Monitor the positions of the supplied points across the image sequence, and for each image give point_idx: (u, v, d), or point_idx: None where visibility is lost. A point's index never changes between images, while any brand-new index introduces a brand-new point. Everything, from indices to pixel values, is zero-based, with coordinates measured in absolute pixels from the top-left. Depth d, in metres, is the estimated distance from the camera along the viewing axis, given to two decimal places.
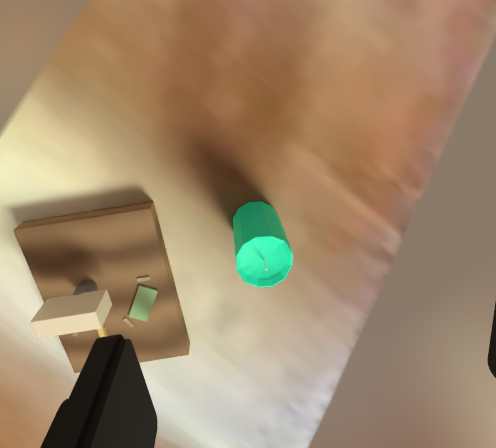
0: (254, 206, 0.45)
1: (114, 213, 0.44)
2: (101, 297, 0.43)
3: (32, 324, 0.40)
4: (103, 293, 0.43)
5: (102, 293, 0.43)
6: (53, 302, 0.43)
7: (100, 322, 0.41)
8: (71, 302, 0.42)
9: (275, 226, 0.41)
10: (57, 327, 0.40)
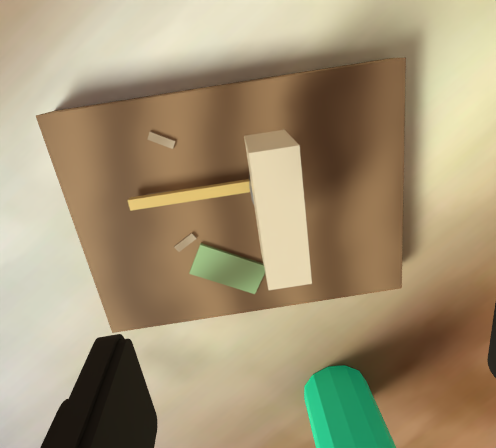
0: None
1: (400, 236, 0.27)
2: None
3: (292, 150, 0.16)
4: None
5: None
6: None
7: (280, 285, 0.19)
8: None
9: None
10: (278, 204, 0.17)
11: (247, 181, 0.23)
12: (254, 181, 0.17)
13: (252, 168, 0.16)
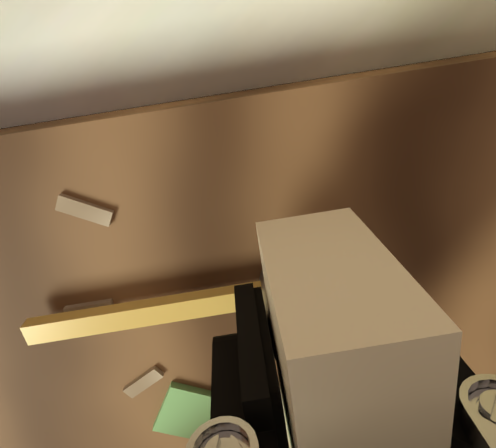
0: None
1: None
2: None
3: (437, 345, 0.05)
4: None
5: None
6: None
7: None
8: None
9: None
10: None
11: None
12: (301, 431, 0.05)
13: (296, 399, 0.05)
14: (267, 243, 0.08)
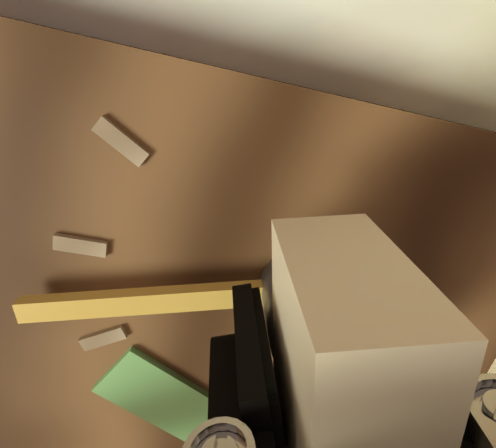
0: None
1: None
2: None
3: (463, 352, 0.05)
4: None
5: None
6: None
7: None
8: None
9: None
10: None
11: (259, 286, 0.12)
12: (317, 427, 0.05)
13: (319, 394, 0.05)
14: (285, 240, 0.08)
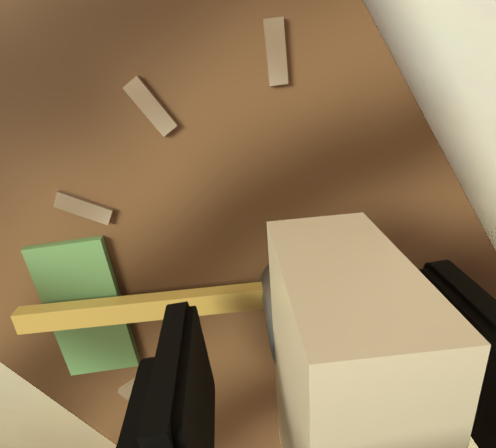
0: None
1: None
2: None
3: (464, 357, 0.05)
4: None
5: None
6: None
7: None
8: None
9: None
10: None
11: (259, 289, 0.12)
12: (315, 439, 0.05)
13: (314, 406, 0.05)
14: (280, 243, 0.07)
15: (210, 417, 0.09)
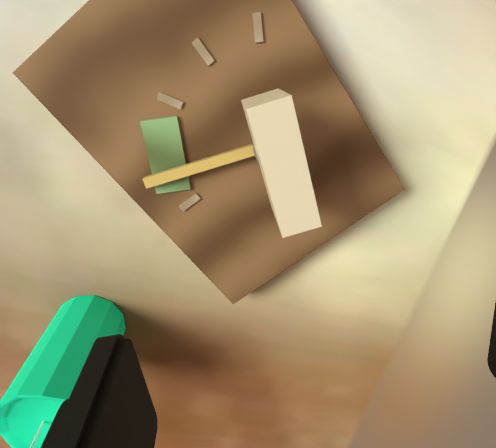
0: None
1: (274, 274, 0.30)
2: None
3: (286, 100, 0.18)
4: None
5: None
6: None
7: (292, 232, 0.21)
8: None
9: None
10: (280, 154, 0.19)
11: (250, 145, 0.25)
12: (255, 135, 0.18)
13: (251, 123, 0.18)
14: (244, 101, 0.21)
15: None
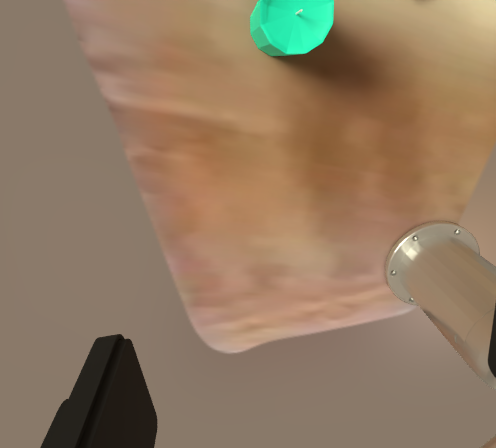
0: None
1: None
2: None
3: None
4: None
5: None
6: None
7: None
8: None
9: (288, 54, 0.33)
10: None
11: None
12: None
13: None
14: None
15: None
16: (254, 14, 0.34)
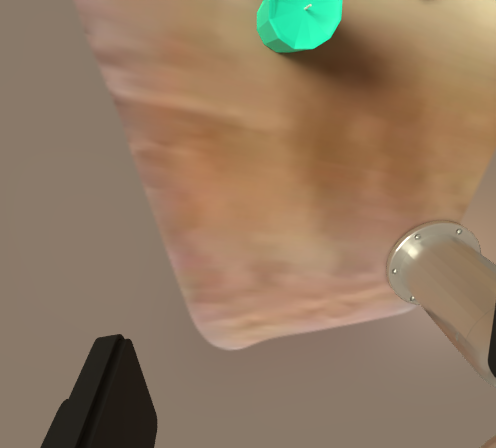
0: None
1: None
2: None
3: None
4: None
5: None
6: None
7: None
8: None
9: None
10: None
11: None
12: None
13: None
14: None
15: None
16: (262, 9, 0.34)
